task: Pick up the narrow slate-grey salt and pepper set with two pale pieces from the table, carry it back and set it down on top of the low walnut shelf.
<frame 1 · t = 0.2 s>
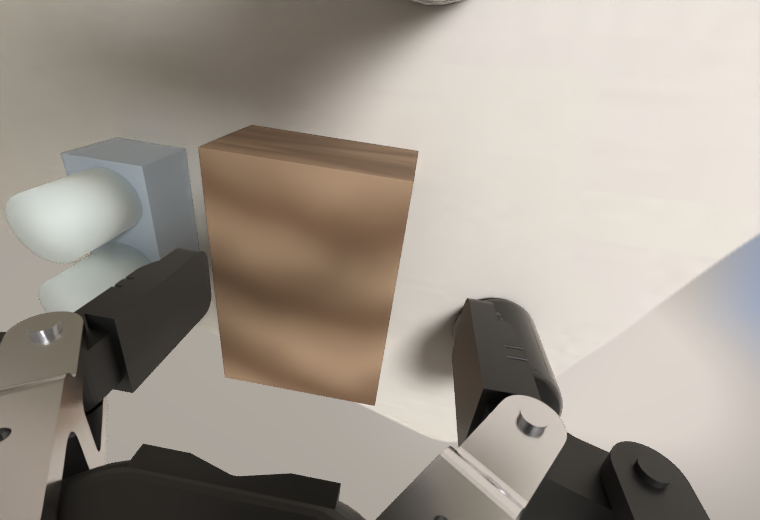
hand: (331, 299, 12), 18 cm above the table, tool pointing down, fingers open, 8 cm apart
supplement bottle: (492, 326, 33), on the table
salt and pepper set: (163, 210, 31), on the table
walnut shelf: (327, 249, 31), on the table
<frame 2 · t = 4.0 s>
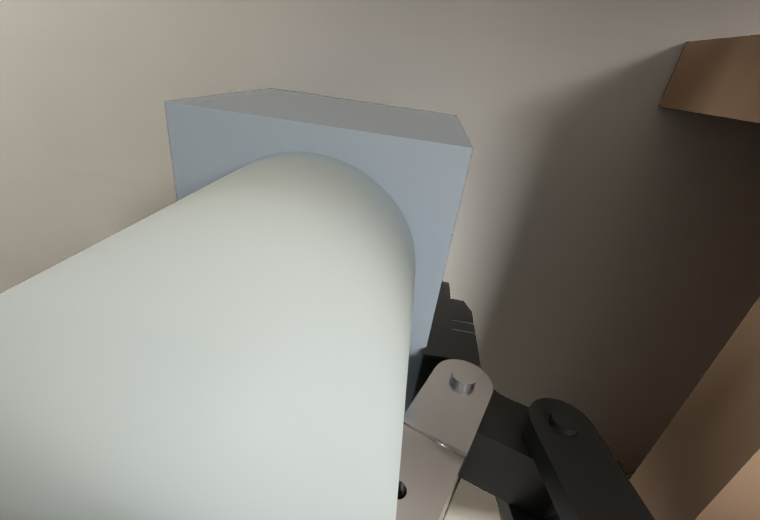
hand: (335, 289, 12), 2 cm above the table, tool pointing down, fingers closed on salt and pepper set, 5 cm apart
salt and pepper set: (346, 265, 14), on the table, touching gripper
walnut shelf: (733, 358, 13), on the table
when the fingers open (10 cm above the table, at t = 9.4 s): salt and pepper set drops 1 cm, resting on walnut shelf.
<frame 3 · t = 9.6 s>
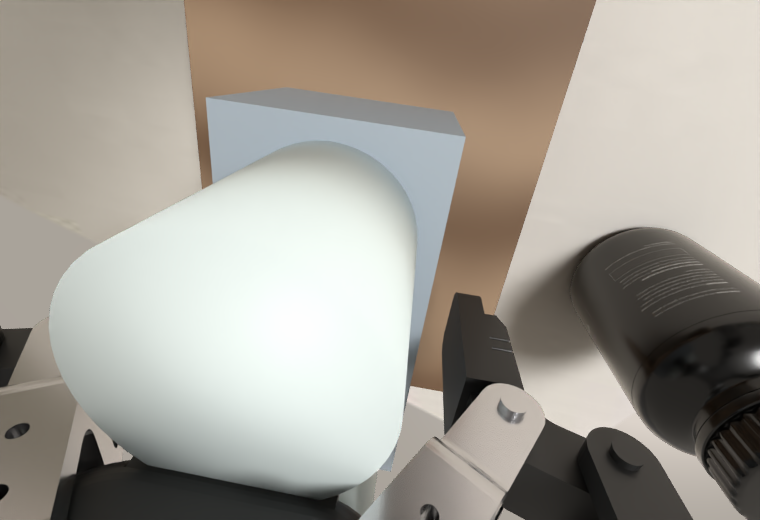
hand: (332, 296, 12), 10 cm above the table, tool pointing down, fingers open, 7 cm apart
supplement bottle: (629, 278, 22), on the table
salt and pepper set: (353, 250, 15), point 7 cm above the table, touching walnut shelf
walnut shelf: (382, 150, 20), on the table
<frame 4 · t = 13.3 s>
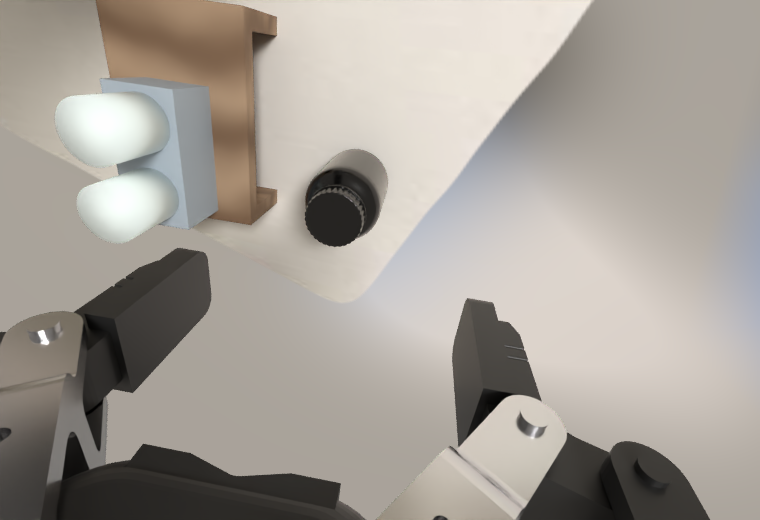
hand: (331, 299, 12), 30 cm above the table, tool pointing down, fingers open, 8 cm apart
supplement bottle: (358, 179, 41), on the table
salt and pepper set: (184, 148, 34), point 7 cm above the table, touching walnut shelf
walnut shelf: (220, 111, 39), on the table
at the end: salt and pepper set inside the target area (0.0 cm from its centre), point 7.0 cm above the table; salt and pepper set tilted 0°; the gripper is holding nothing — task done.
